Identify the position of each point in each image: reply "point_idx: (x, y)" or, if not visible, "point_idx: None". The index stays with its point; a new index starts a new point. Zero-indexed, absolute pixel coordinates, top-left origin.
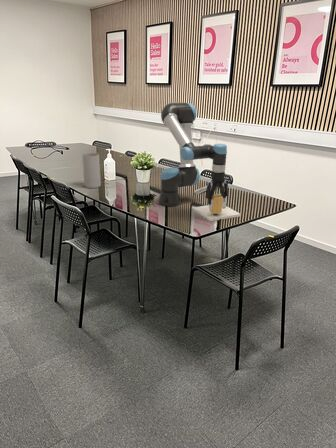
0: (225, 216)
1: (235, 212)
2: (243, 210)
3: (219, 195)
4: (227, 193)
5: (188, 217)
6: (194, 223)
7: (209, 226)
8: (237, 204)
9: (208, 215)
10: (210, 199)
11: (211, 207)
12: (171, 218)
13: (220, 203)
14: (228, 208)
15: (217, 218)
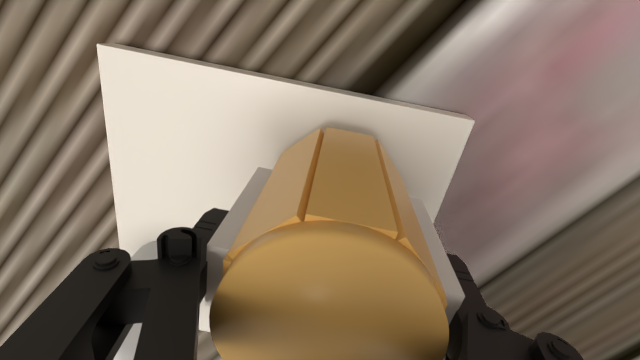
0: (287, 82)
1: (125, 109)
2: (14, 140)
3: (262, 329)
4: (67, 293)
5: (523, 272)
6: (615, 156)
7: (589, 7)
8: (6, 255)
9: (408, 194)
10: (490, 310)
11: (426, 216)
12: (634, 321)
13: (332, 177)
14: (133, 216)
15: (383, 100)
